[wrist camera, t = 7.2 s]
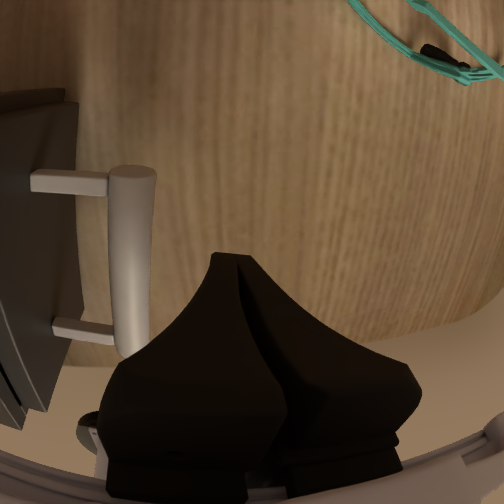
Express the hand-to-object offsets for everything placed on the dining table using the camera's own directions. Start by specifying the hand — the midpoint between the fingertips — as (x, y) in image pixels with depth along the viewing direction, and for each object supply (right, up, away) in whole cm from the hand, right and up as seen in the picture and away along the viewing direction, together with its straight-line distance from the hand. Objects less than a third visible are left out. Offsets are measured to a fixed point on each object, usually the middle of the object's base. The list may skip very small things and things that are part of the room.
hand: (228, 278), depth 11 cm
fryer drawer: (-11, +3, +1) cm, 12 cm away
